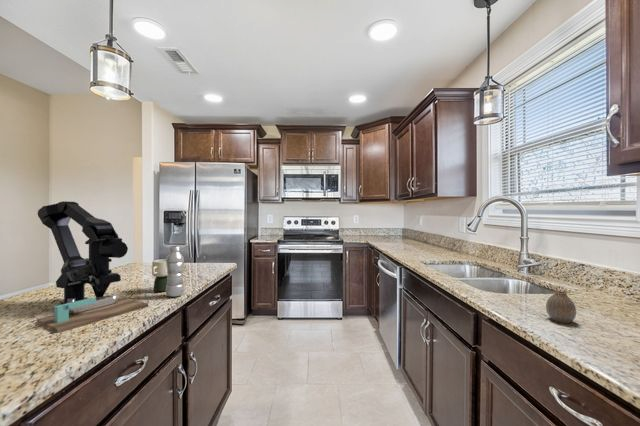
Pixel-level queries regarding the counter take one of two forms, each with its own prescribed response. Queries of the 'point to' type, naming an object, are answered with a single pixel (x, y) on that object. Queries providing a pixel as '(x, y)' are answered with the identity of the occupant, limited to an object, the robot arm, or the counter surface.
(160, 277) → the character mug
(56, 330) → the board
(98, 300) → the link
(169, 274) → the plastic bottle
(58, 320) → the keeper
